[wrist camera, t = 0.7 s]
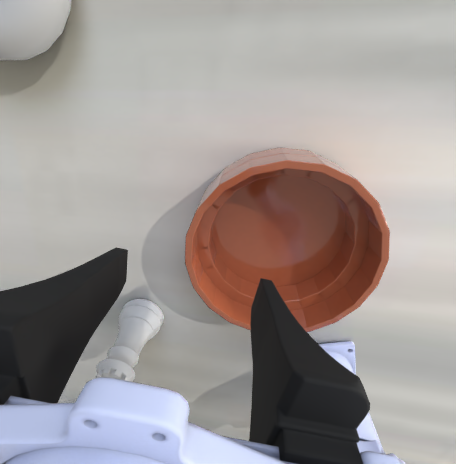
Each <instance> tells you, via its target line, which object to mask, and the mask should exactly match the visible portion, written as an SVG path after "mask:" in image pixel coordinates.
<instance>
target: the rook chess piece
mask: <svg viewBox="0 0 456 464" xmlns="http://www.w3.org/2000/svg"><path fill="white" fill-rule="evenodd" d="M163 320H164V316H163V313H162V311H161V309H160V308H159V307H158V305H157V304H156V303H154V302H152V301H150V300H147V299H134V300H131V301H129V302H127V303H126V304H125V305H124V306H123V308H122V312H121V313H120V314H119V321H118V324H119V333H118V336H117V339H116V341H115V344H114V346H113V347H112V348H110V349H109V350H108V353H107V356H108V358H107V359H104V360H102V361H100V362H99V363H98V365H97V367H96V371H97V376H96V378H98V377H107V378H115V379H120V380H125V381H131V382H132V381H133V380H134V379H135V372H134V369H133V367H134V366H136V365H137V364H138V362H139V357H138V356H139V354H140V352H141V350H142V348H143V347H144V345H145V343H146V342H147V341H149V340H150V339H151V338H152V337H154V336H155V335H156V334H157V333H158V331H159V330H160V326H161V325H162V324H163Z"/></svg>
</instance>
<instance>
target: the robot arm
mask: <svg viewBox="0 0 456 464" xmlns="http://www.w3.org/2000/svg"><path fill="white" fill-rule="evenodd" d="M127 254H128V250H125V249H120V248H114V249H112V250H110V251H108V252H106V253H105V254H103V255H101V256H99V257H97V258H95V259H93V260H91V261H89V262H87V263H85V264H83V265H81V266H78V267H76V268H74V269H72V270H69V271H67V272H65V273H62V274H60V275H57V276H54V277H51V278H49V279H46V280H43V281H39V282H36V283H32V284H29V285H25V286H22V287H18V288H13V289H9V290H4V291H0V464H406V463H405V462H404V461H403V460H401V459H400V458H397V456H396V455H395V454H393V453H390V454H385V452H384V450H383V448H382V445H381V442H380V440H379V437H378V435H377V432H376V429H375V427H374V424H373V422H372V419H371V416H370V414H369V410H370V402H369V400H368V397H367V395H366V392H365V389H364V387H363V385H362V383H361V380H360V378H359V377H358V376H356V368H355V345H354V343H353V342H351V341H346V342H336V343H326V344H317V343H316V342H315V341H314V340H313V339H312V337H311V336H310V335H309V334H308V333H307V332H306V331H305V330H304V328H303V327H302V326H301V325H300V324H299V322H298V321H297V320H296V318H295V317H294V316H293V314H292V313H291V311H290V310H289V308H288V307H287V305H286V304H285V302H284V301H283V299H282V297H281V296H280V294H279V292H278V290H277V289H276V287H275V285H274V283H273V282H272V280H267V279H262V278H261V279H260V282H259V285H258V288H257V291H256V294H255V297H254V301H253V304H252V307H251V322H250V326H251V342H252V357H253V388H252V409H251V425H250V439H249V441H245V440H240V439H235V438H229V437H224V436H221V435H218V434H216V433H214V432H211V431H209V430H207V429H204V428H202V427H199V426H197V425H195V424H192V423H190V422H188V416H189V411H190V410H189V404H188V401H187V400H186V399H185V398H184V397H183V396H182V395H181V394H179V393H178V392H175V391H172V390H170V389H166V388H161V387H156V386H151V385H146V384H141V383H136V382H131V381H125V380H120V379H115V378H107V377H98V378H95V379H93V380H91V381H88V382H87V383H86V384H85V386H84V388H83V390H82V392H81V393H80V395H79V397H78V399H77V400H76V402H75V403H58V400H59V398H60V396H61V394H62V392H63V390H64V388H65V386H66V384H67V382H68V380H69V378H70V376H71V374H72V372H73V370H74V368H75V366H76V364H77V362H78V360H79V358H80V356H81V354H82V353H83V351H84V349H85V347H86V345H87V343H88V342H89V340H90V338H91V336H92V335H93V333H94V332H95V330H96V329H97V327H98V326H99V324H100V323H101V321H102V320H103V318H104V317H105V316H106V314H107V313H108V311H109V310H110V308H111V307H112V305H113V304H114V302H115V301H116V300H117V298H118V296H119V294H120V293H121V291H122V289H123V287H124V284H125V282H126V275H127Z"/></svg>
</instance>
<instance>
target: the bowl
mask: <svg viewBox="0 0 456 464" xmlns="http://www.w3.org/2000/svg"><path fill="white" fill-rule="evenodd" d="M389 236H390V232H389V228H388V225H387V223H386V220H385V217H384V215H383V212H382V209H381V207H380V204H379V202H378V201H377V200H376V199H375V198H374V197H373V196H372V195H371V194H370V193H369V192H368V191H367V190H366V189H365V188H364V187H363V186H362V184H361V183H360V182H359V181H358V180H357V179H355V178H354V177H353V176H351V175H350V174H349V173H348V172H346V171H345V170H344V169H342V168H341V167H340V166H338V165H337V164H336V163H334V162H332V161H330V160H328V159H326V158H324V157H321V156H319V155H317V154H315V153H313V152H311V151H307V150H298V149H289V148H275V149H270V150H265V151H261V152H256V153H251V154H249V155H247V156H245V157H243V158H242V159H240V160H238V161H236V162H235V163H233V164H231V165H230V166H228V167H226V168H225V169H223V170H222V172H221V173H220V174H219V175H218V176H217V177H216V178H215V179H214V181H213V182H212V183H211V184H210V185H209V186H208V187H207V189H206V190H205V193H204V195H203V197H202V199H201V201H200V204H199V206H198V208H197V210H196V213H195V215H194V218H193V220H192V222H191V225H190V227H189V230H188V232H187V235H186V247H185V264H186V267H187V270H188V273H189V276H190V279H191V282H192V285H193V287H194V289H195V290H196V292H197V293H198V294H199V296H200V297H201V298H202V299H203V301H204V302H205V303H206V305H207V306H208V307H209V308H210V309H211V310H213V311H214V312H216V313H217V314H218V315H220V316H221V317H223V318H224V319H225V320H227V321H228V322H230V323H232V324H235V325H238V326H240V327H243V328H246V329H248V330H251V326H250V322H251V307H252V304H253V301H254V297H255V294H256V291H257V288H258V285H259V282H260V279H261V278H262V279H267V280H272V282H273V283H274V285H275V287H276V289H277V290H278V292H279V294H280V296H281V297H282V299H283V301H284V302H285V304H286V305H287V307H288V308H289V310H290V311H291V313H292V314H293V316H294V317H295V318H296V320H297V321H298V322H299V324H300V325H301V326H302V327H303V328H304V330H305V331H306V332H310V331H313V330H316V329H319V328H322V327H324V326H327V325H330V324H333V323H335V322H337V321H339V320H340V319H342V318H343V317H345V316H346V315H348V314H349V313H351V312H352V311H354V310H355V309H357V308H358V307H360V305H361V304H362V303H363V302H364V301H365V300H366V299H367V297H368V296H369V295H370V294H371V293H372V292H373V291H374V289H375V288H376V287H377V286H378V284H379V281H380V279H381V277H382V274H383V272H384V270H385V267H386V265H387V263H388V260H389Z"/></svg>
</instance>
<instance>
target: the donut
mask: <svg viewBox="0 0 456 464" xmlns="http://www.w3.org/2000/svg"><path fill="white" fill-rule="evenodd" d="M70 10H71V0H0V60H28V59H30V58H32V57H35V56H37V55H39V54H41V53H43V52H45V51H47V50H48V49H49V48H50V47H51V45H52V44H53V43H54V42H55V41H56V40H57V38H58V37H59V36H60V35H61V34H62V32H63V30H64V27H65V24H66V21H67V18H68V16H69V13H70Z"/></svg>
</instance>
